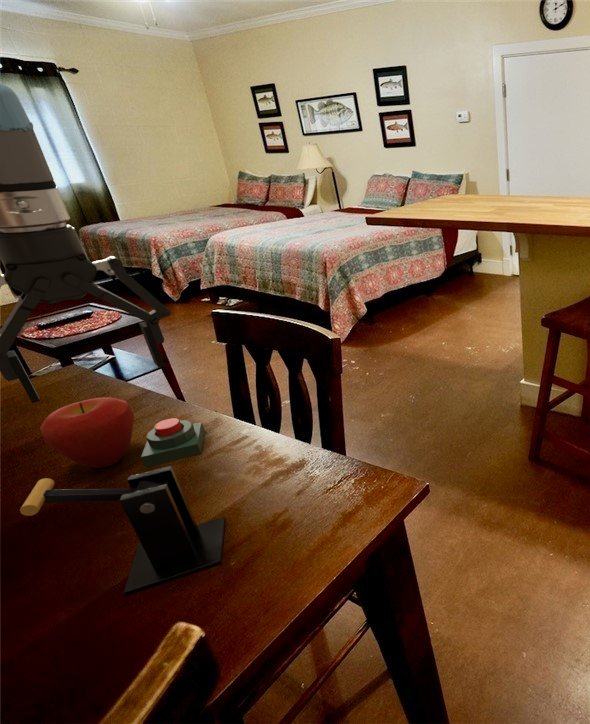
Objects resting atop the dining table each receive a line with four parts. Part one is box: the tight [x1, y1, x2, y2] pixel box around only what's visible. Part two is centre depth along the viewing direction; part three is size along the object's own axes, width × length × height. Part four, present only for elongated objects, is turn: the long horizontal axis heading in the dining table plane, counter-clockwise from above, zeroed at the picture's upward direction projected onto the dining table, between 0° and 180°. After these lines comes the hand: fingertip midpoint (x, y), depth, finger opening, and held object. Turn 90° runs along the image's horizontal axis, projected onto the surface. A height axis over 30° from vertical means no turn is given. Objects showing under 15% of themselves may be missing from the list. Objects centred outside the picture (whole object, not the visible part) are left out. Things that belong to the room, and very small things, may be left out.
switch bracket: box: [119, 465, 227, 597], centre depth 60 cm, size 10×9×13 cm
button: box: [153, 417, 182, 437], centre depth 83 cm, size 4×4×2 cm
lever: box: [19, 477, 169, 517], centre depth 56 cm, size 12×5×2 cm, turn 119°
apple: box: [39, 396, 135, 469], centre depth 79 cm, size 11×11×12 cm
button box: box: [140, 419, 206, 468], centre depth 84 cm, size 8×8×4 cm
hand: (101, 380), depth 67 cm, fingers open, 13 cm apart
